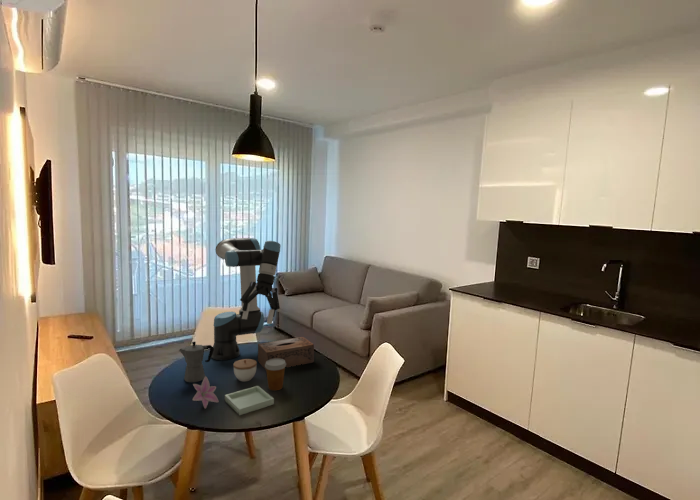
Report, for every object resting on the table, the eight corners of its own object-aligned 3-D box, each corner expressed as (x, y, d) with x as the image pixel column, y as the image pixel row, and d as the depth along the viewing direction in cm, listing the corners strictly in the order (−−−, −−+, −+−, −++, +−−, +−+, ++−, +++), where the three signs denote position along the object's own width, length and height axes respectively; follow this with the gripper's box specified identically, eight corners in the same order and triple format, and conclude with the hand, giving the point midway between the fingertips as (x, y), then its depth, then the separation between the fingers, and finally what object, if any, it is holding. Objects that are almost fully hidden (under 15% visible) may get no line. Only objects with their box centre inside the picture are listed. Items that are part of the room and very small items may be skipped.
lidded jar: (228, 380, 185) (228, 361, 184) (244, 372, 195) (244, 354, 194) (246, 385, 180) (245, 365, 179) (261, 377, 190) (261, 358, 189)
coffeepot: (178, 384, 180) (177, 346, 178) (180, 376, 189) (179, 339, 187) (214, 380, 185) (213, 343, 183) (214, 372, 194) (213, 336, 192)
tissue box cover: (302, 353, 222) (302, 336, 221) (313, 362, 209) (313, 344, 208) (258, 362, 209) (257, 343, 208) (266, 371, 196) (266, 352, 195)
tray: (224, 400, 165) (224, 395, 165) (257, 391, 175) (257, 385, 175) (239, 415, 154) (239, 409, 154) (273, 404, 163) (273, 398, 163)
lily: (187, 415, 156) (197, 396, 153) (182, 393, 164) (191, 375, 162) (215, 414, 163) (225, 397, 161) (209, 393, 172) (218, 376, 170)
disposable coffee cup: (273, 394, 172) (273, 367, 171) (260, 387, 178) (260, 362, 177) (290, 387, 179) (290, 361, 178) (277, 381, 185) (277, 356, 184)
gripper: (249, 267, 167) (238, 317, 161) (292, 280, 185) (284, 326, 179) (238, 267, 172) (228, 316, 166) (282, 280, 190) (273, 325, 184)
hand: (257, 321), depth 173 cm, fingers open, 13 cm apart
